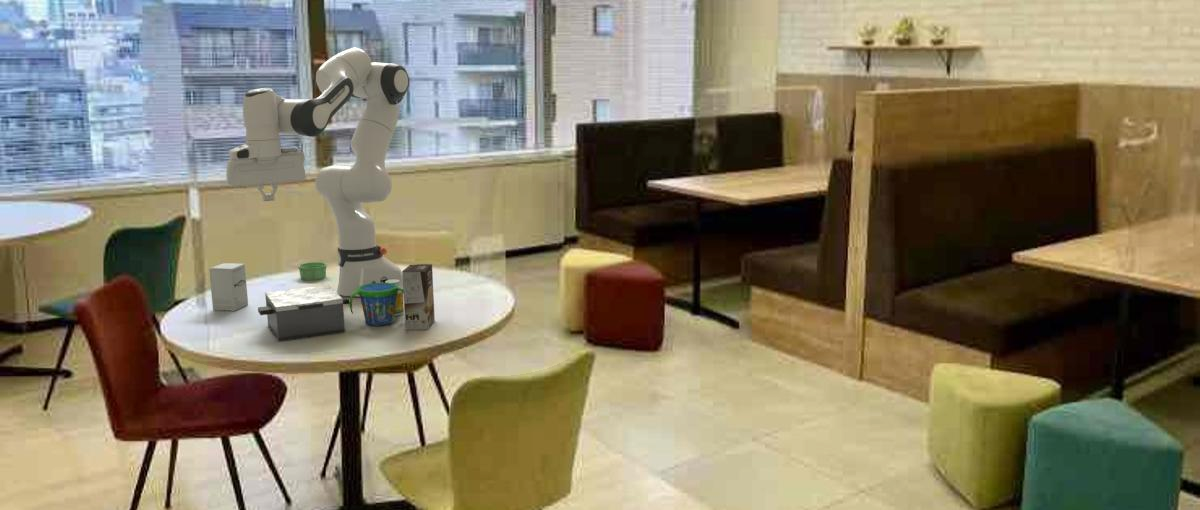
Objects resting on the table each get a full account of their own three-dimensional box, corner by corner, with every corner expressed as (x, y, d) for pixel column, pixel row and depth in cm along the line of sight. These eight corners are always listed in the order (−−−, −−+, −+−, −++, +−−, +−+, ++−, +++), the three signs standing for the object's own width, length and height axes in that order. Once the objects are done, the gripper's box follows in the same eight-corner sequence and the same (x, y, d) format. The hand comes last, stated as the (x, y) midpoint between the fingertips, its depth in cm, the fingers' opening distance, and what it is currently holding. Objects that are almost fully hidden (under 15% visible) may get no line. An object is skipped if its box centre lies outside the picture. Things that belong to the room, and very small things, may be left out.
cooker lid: (329, 289, 273) (328, 284, 272) (344, 304, 256) (344, 300, 256) (265, 296, 265) (265, 292, 265) (277, 313, 248) (277, 309, 248)
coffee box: (428, 330, 260) (425, 271, 257) (404, 330, 261) (401, 271, 257) (435, 320, 269) (432, 263, 266) (412, 320, 270) (409, 263, 266)
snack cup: (408, 315, 275) (406, 280, 273) (409, 325, 265) (407, 289, 263) (350, 319, 271) (348, 284, 269) (350, 330, 261) (347, 293, 259)
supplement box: (235, 311, 282) (231, 268, 279) (212, 310, 283) (207, 268, 281) (249, 305, 289) (245, 263, 286) (226, 304, 290) (222, 262, 288)
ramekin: (323, 280, 318) (322, 267, 317) (295, 281, 318) (294, 268, 317) (330, 274, 327) (329, 261, 326) (304, 274, 327) (303, 262, 326)
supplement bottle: (382, 312, 278) (380, 280, 276) (401, 310, 280) (399, 277, 278) (387, 317, 273) (385, 284, 271) (406, 314, 276) (404, 281, 274)
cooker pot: (341, 315, 276) (339, 288, 274) (356, 330, 261) (354, 301, 259) (256, 327, 265) (254, 298, 264) (266, 343, 251) (263, 313, 249)
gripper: (301, 146, 270) (305, 195, 273) (222, 151, 261) (228, 202, 264) (305, 148, 265) (310, 198, 268) (225, 153, 255) (231, 205, 258)
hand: (268, 200), depth 266 cm, fingers closed
